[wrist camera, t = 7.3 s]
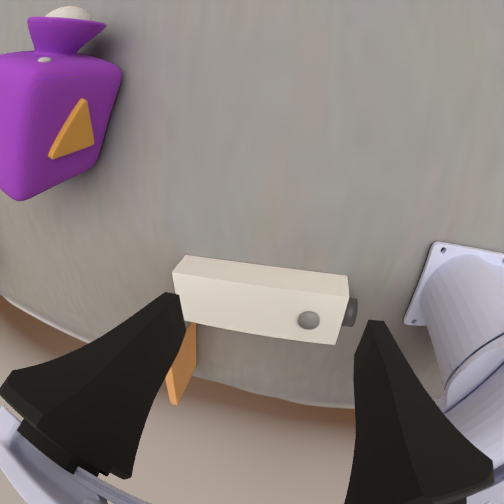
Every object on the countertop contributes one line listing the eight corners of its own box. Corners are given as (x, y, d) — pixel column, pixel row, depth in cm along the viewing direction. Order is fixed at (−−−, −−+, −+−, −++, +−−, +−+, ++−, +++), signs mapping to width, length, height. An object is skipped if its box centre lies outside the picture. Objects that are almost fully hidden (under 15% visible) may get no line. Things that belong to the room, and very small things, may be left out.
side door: (188, 304, 25) (160, 351, 20) (196, 307, 25) (169, 354, 20) (190, 362, 30) (170, 403, 25) (196, 365, 30) (177, 405, 25)
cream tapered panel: (359, 277, 20) (363, 301, 17) (345, 324, 22) (346, 349, 20) (185, 254, 22) (170, 274, 20) (192, 301, 25) (180, 322, 23)
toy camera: (152, 11, 13) (49, -17, 4) (118, 173, 20) (24, 225, 12) (65, 22, 13) (-21, 24, 5) (45, 151, 21) (-32, 186, 12)
